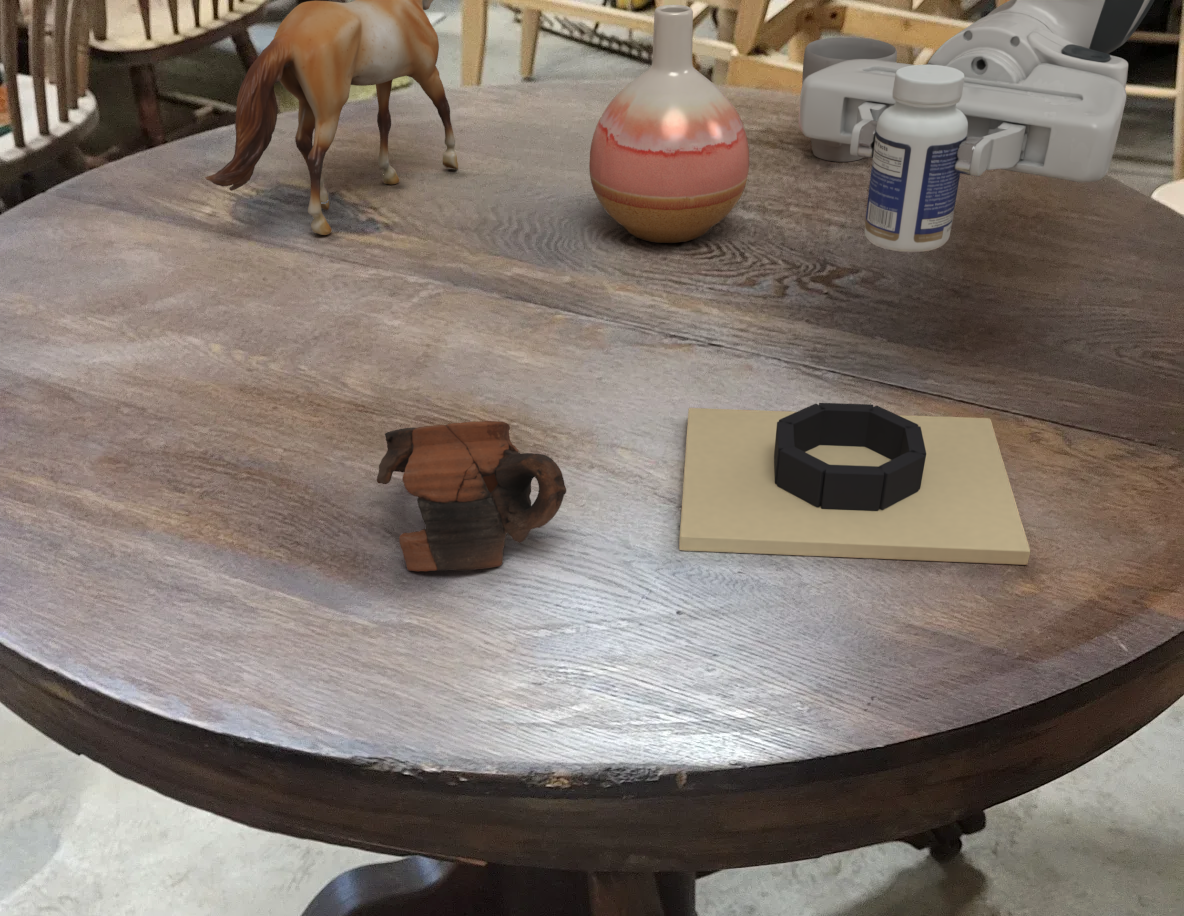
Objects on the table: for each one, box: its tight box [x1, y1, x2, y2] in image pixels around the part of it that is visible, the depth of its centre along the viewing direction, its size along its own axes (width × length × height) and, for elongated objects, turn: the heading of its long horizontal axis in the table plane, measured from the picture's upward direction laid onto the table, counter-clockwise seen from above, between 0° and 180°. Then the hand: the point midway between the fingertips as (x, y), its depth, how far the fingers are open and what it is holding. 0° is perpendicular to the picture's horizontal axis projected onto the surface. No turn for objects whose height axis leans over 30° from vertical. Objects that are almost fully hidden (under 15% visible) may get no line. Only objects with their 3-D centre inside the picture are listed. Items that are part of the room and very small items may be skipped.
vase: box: [588, 4, 750, 244], centre depth 109 cm, size 14×14×18 cm
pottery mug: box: [376, 420, 567, 572], centre depth 76 cm, size 12×10×8 cm
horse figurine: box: [204, 0, 459, 236], centre depth 114 cm, size 31×8×21 cm, turn 147°
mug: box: [801, 36, 898, 163], centre depth 126 cm, size 12×9×10 cm
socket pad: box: [678, 402, 1031, 566], centre depth 80 cm, size 20×16×4 cm
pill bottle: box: [863, 64, 968, 253], centre depth 79 cm, size 5×5×10 cm
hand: (914, 152), depth 78 cm, fingers closed on pill bottle, 5 cm apart
